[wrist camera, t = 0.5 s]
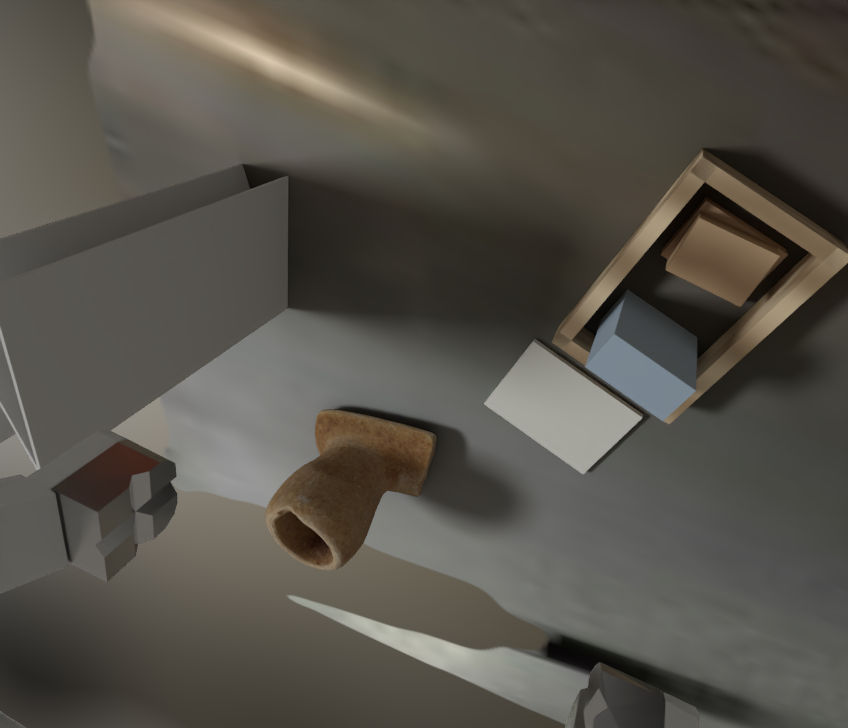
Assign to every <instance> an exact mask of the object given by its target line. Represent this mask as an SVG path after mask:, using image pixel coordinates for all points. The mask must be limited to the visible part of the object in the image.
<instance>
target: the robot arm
mask: <svg viewBox="0 0 848 728" xmlns="http://www.w3.org/2000/svg"><path fill="white" fill-rule="evenodd" d="M175 477H176V466H175V463H174V462H172V461H170V460H168V459H166V458H164V457H162V456H160V455H158V454H156V453H154V452H152V451H150V450H148V449H146V448H144V447H142V446H140V445H138V444H136V443H134V442H132V441H130V440H128V439H126V438H124V437H122V436H120V435H118V434H116V433H114V432H112V431H110V430H108V429H106V430H101V431H97V432H95V433H94V434H92V435H91V436H89V437H87V438H86V439H84V440H83V441H81V442H80V443H78V444H77V445H75V446H74V447H72V448H71V449H69V450H68V451H66V452H65V453H63V454H62V455H60V456H58V457H57V458H55V459H54V460H52V461H51V462H49V463H48V464H46V465H45V466H43V467H42V468H40V469H39V470H37V471H36V472H34V473H33V474H31V475H30V476H28V477H24V476H22V475H16V476H11V477H7V478H2V479H0V594H1V593H3V592H6V591H8V590H11V589H13V588H15V587H18V586H21V585H23V584H25V583H28V582H30V581H33V580H35V579H38V578H40V577H42V576H45V575H48V574H50V573H53V572H55V571H57V570H60V569H62V568H65V567H67V566H69V563H70V564H72V565H74V566H76V567H78V568H80V569H82V570H84V571H86V572H88V573H90V574H92V575H94V576H96V577H98V578H100V579H102V580H104V581H106V582H108V581H109V580H110V579H111V578H112V577H114V576H115V575H116V574H117V573H118V572H119V571H120V570H121V569H122V568H123V567H125V566H126V565H127V563H129V562H130V561H131V560H132V559H133V558H134V557H135V556H136V552H137V546H138V544H140V543H143V542H147V541H150V540H153V539H155V538H156V537H157V536H158V535H159V534H160V533H161V532H162V531H163V530H164V529H165V528H166V526H167V525H168V523H169V522H170V520H171V518H172V517H173V515H174V513H175V509H176V505H177V493H176V491H175V489H174V487H173V486H172V484H171V481H172V480H173V479H174V478H175ZM0 728H26V727H24V726H22V725H21V724H19V723H18V722H16V721H14V720H13V719H11V718H10V717H8V716H6V715H5V714H3V713H2V712H0ZM565 728H699V714H698V712H697V709H696V708H695V707H694V706H692V705H690V704H688V703H685V702H683V701H681V700H679V699H677V698H675V697H672V696H670V695H668V694H666V693H664V692H661V690H660V689H657V688H655V687H653V686H651V685H649V684H646V683H644V682H642V681H640V680H638V679H635V678H633V677H631V676H629V675H627V674H624V673H622V672H620V671H618V670H616V669H613V668H611V667H609V666H607V665H605V664H602V663H598V664H597V665H596V666H595V667H594V669H593V670H592V672H591V673H590V677H589V683H588V688H585V689H581V690H580V692H579V693H578V695H577V697H576V699H575V701H574V703H573V705H572V708H571V711H570V713H569V716H568V719H567V723H566V726H565Z"/></svg>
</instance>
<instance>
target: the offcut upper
mask: <svg viewBox="0 0 848 728" xmlns="http://www.w3.org/2000/svg"><path fill="white" fill-rule="evenodd" d="M779 257H780V255H779V251H778V247H776V246H774V245H772V244H770V243H767V242H765V241H763V240H761V239H759V238H757V237H755V236H753V235H751V234H748V233H746V232H744V231H742V230H740V229H738V228H736V227H734V226H731V225H729V224H727V223H725V222H723V221H721V220H719V219H717V218H715V217H712V216H710V215H708V214H706V213H704V212H702V211H699V213H698V214H697V216H696V217H695V219H694V221H693V222H692V224H691V225H690V227H689V228H688V230H687V231H686V233H685V234H684V236H683V237H682V239H681V241H680V242H679V244H678V245H677V247H676V248H675V250H674V251H673V253H672V254H671V256H670V257H669V259H668V260H667V264H666V271H668V272H670V273H672V274H674V275H676V276H678V277H681V278H683V279H685V280H687V281H689V282H691V283H693V284H695V285H697V286H699V287H701V288H703V289H705V290H707V291H709V292H711V293H713V294H715V295H717V296H719V297H721V298H723V299H725V300H727V301H729V302H731V303H733V304H735V305H737V306H739V307H741V306H742V305H743V303H744V302H745V301H746V299H747V298H748V297H749V296H750V294H751V293H752V292H753V290H754V289H755V288H756V287H757V285H758V284H759V283H760V281H761V280H762V279H763V278H764V276H765V275H766V274H767V272H768V271H769V270H770V268H771V267H772V266H773V265H774V263H775V262H776V261H777V259H778V258H779Z"/></svg>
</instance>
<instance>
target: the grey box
mask: <svg viewBox="0 0 848 728" xmlns="http://www.w3.org/2000/svg"><path fill="white" fill-rule="evenodd" d="M287 308H288V176H284V177H282V178H279V179H276V180H274V181H271V182H268V183H266V184H263V185H260V186H258V187H255V188H252V189H250V187H249V184H248V180H247V177H246V174H245V171H244V168H243V165H242V164H239V165H236V166H233V167H229V168H226V169H223V170H220V171H216V172H213V173H210V174H207V175H204V176H200V177H197V178H194V179H191V180H187V181H184V182H181V183H178V184H175V185H171V186H168V187H165V188H162V189H158V190H155V191H152V192H149V193H146V194H142V195H139V196H136V197H133V198H129V199H126V200H123V201H120V202H117V203H113V204H110V205H107V206H104V207H101V208H97V209H94V210H91V211H88V212H84V213H81V214H78V215H75V216H71V217H68V218H65V219H62V220H59V221H55V222H52V223H49V224H46V225H43V226H39V227H36V228H33V229H30V230H26V231H23V232H20V233H17V234H14V235H10V236H7V237H4V238H1V239H0V443H1V442H3V441H4V440H6V439H8V438H9V437H11V436H13V435H14V434H17V436H18V438H19V440H20V442H21V443H22V445H23V447H24V449H25V451H26V452H27V454H28V456H29V457H30V459H31V461H32V463H33V465H34V466H35V468H36V470H39V469H40V468H42V467H43V466H45V465H46V464H48V463H49V462H51V461H52V460H54V459H55V458H57V457H58V456H60V455H62V454H63V453H65V452H66V451H68V450H69V449H71V448H72V447H74V446H75V445H77V444H78V443H80V442H81V441H83V440H84V439H86V438H87V437H89V436H91V435H92V434H94V433H95V432H97V431H101V430H106V429H108V430H112V429H113V428H115V427H116V426H118V425H119V424H120V423H122V422H123V421H125V420H126V419H128V418H129V417H130V416H132V415H134V414H135V413H136V412H138V411H139V410H141V409H142V408H144V407H145V406H147V405H148V404H149V403H151V402H152V401H154V400H155V399H156V398H158V397H160V396H161V395H163V394H164V393H165V392H167V391H168V390H170V389H171V388H173V387H174V386H176V385H177V384H178V383H180V382H181V381H183V380H184V379H186V378H187V377H189V376H190V375H191V374H193V373H194V372H196V371H197V370H199V369H200V368H202V367H203V366H205V365H206V364H207V363H209V362H210V361H212V360H213V359H215V358H216V357H218V356H219V355H220V354H222V353H223V352H225V351H226V350H228V349H229V348H231V347H232V346H233V345H235V344H236V343H238V342H239V341H241V340H242V339H244V338H245V337H247V336H248V335H249V334H251V333H252V332H254V331H255V330H257V329H258V328H260V327H261V326H262V325H264V324H265V323H267V322H268V321H270V320H271V319H273V318H274V317H275V316H277V315H278V314H280V313H281V312H283V311H284V310H286V309H287Z"/></svg>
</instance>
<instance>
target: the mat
mask: <svg viewBox="0 0 848 728" xmlns="http://www.w3.org/2000/svg"><path fill="white" fill-rule="evenodd" d="M484 404H485V405H486V406H487V407H489V408H490V409H492V410H493V411H494V412H496V413H497V414H499V415H500V416H501V417H503V418H504V419H506V420H507V421H508V422H510V423H511V424H513V425H514V426H515V427H517V428H518V429H520V430H521V431H523V432H524V433H525V434H527V435H528V436H530V437H531V438H532V439H534V440H535V441H537V442H538V443H539V444H541V445H542V446H544V447H545V448H546V449H548V450H549V451H551V452H552V453H554V454H555V455H556V456H558V457H559V458H561V459H562V460H563V461H565V462H566V463H568V464H569V465H570V466H572V467H573V468H575V469H576V470H577V471H579V472H580V473H582V474H584V473H585V472H586V471H587V470H588V469H589V468H590V467H591V466H593V465H594V464H595V463H596V462H597V461H598V460H599V459H600V458H601V457H602V456H603V455H604V454H605V453H606V452H607V451H608V450H609V449H610V448H611V447H613V446H614V445H615V444H616V443H617V442H618V441H619V440H620V439H621V438H622V437H623V436H624V435H625V434H626V433H627V432H628V431H629V430H630V429H631V428H633V427H634V426H635V425H636V424H637V423H638V422H639V421H640V420H641V419H642V418H643V414H642V413H640V412H639V411H638V410H636V409H635V408H633V407H632V406H630V405H629V404H628V403H626V402H625V401H623V400H622V399H620V398H619V397H618V396H616V395H615V394H613V393H612V392H610V391H609V390H608V389H606V388H605V387H603V386H602V385H600V384H599V383H598V382H596V381H595V380H593V379H592V378H590V377H589V376H588V375H586V374H585V373H583V372H582V371H580V370H579V369H578V368H576V367H575V366H573V365H572V364H570V363H569V362H568V361H566V360H565V359H563V358H562V357H560V356H559V355H558V354H556V353H555V352H553V351H552V350H550V349H549V348H548V347H546V346H545V345H543V344H542V343H540V342H539V341H538V340H536V339H534V340H533V342H532V343H531V344H530V345H529V347H528V348H527V349H526V351H525V352H524V353H523V354H522V356H521V357H520V358H519V359H518V361H517V362H516V363H515V364H514V366H513V367H512V368H511V370H510V371H509V372H508V373H507V375H506V376H505V377H504V378H503V380H502V381H501V382H500V384H499V385H498V386H497V387H496V389H495V390H494V391H493V392H492V394H491V395H490V396H489V397H488V399H487V400H486V401H485V403H484Z"/></svg>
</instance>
